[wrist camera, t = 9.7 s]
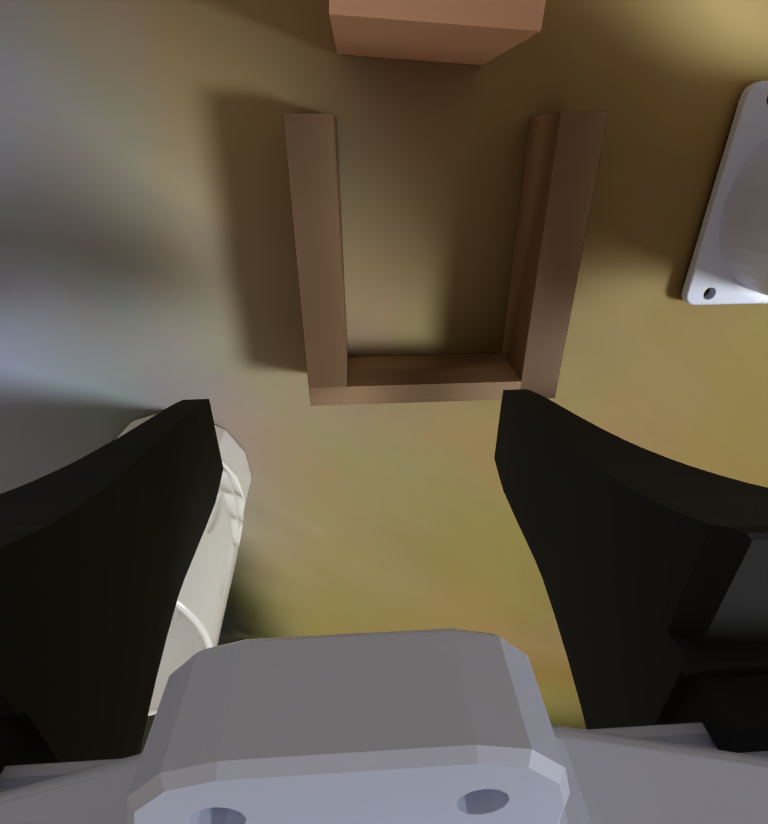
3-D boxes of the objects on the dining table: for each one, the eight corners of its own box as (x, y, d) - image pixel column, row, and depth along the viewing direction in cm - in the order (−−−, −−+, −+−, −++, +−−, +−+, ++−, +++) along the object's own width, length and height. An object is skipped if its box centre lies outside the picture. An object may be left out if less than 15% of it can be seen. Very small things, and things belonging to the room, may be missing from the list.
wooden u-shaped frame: (570, 115, 17) (608, 111, 15) (531, 367, 22) (554, 397, 20) (293, 117, 17) (283, 113, 14) (315, 374, 22) (310, 405, 19)
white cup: (63, 447, 23) (-112, 630, 14) (192, 370, 22) (82, 523, 13) (176, 548, 27) (90, 744, 18) (294, 488, 25) (261, 671, 16)
